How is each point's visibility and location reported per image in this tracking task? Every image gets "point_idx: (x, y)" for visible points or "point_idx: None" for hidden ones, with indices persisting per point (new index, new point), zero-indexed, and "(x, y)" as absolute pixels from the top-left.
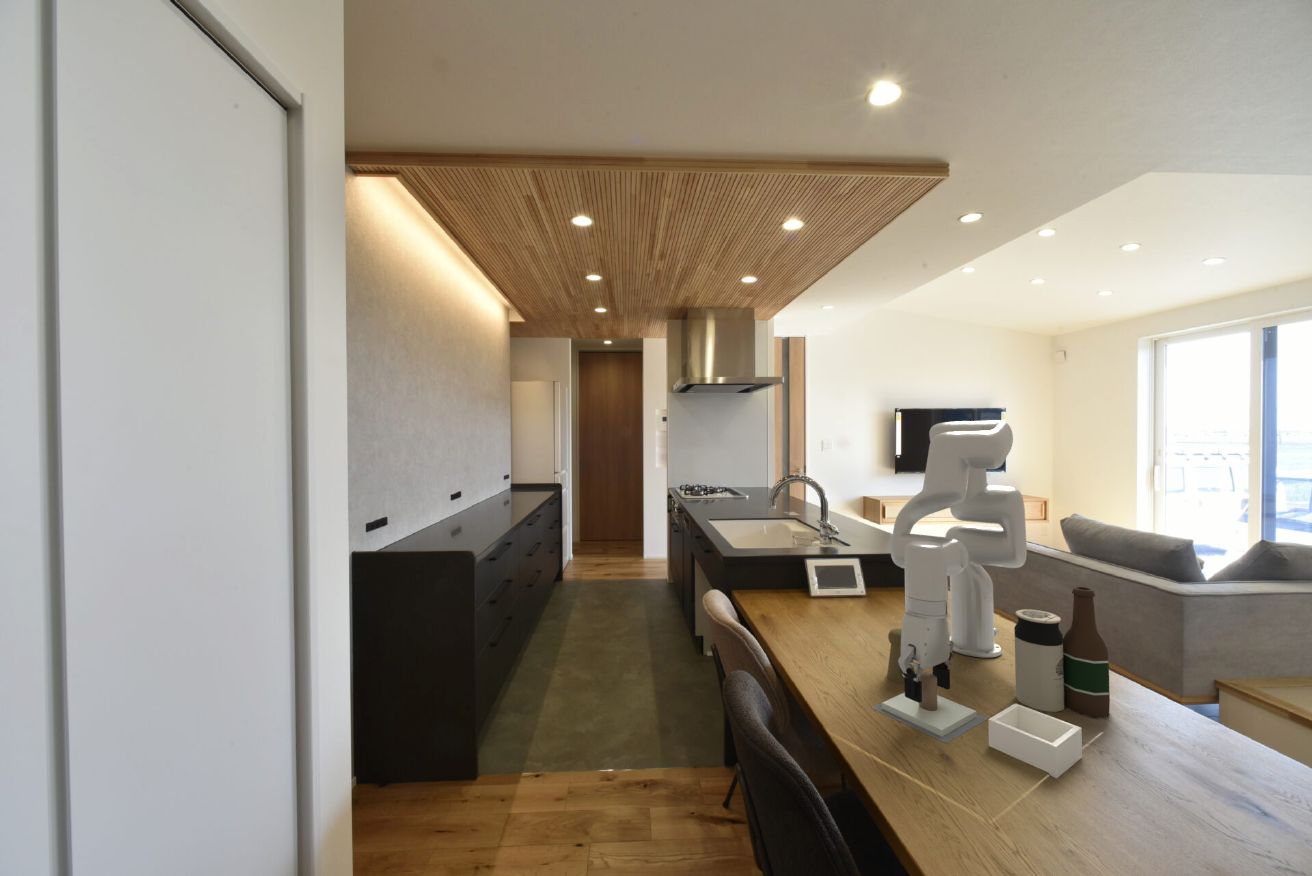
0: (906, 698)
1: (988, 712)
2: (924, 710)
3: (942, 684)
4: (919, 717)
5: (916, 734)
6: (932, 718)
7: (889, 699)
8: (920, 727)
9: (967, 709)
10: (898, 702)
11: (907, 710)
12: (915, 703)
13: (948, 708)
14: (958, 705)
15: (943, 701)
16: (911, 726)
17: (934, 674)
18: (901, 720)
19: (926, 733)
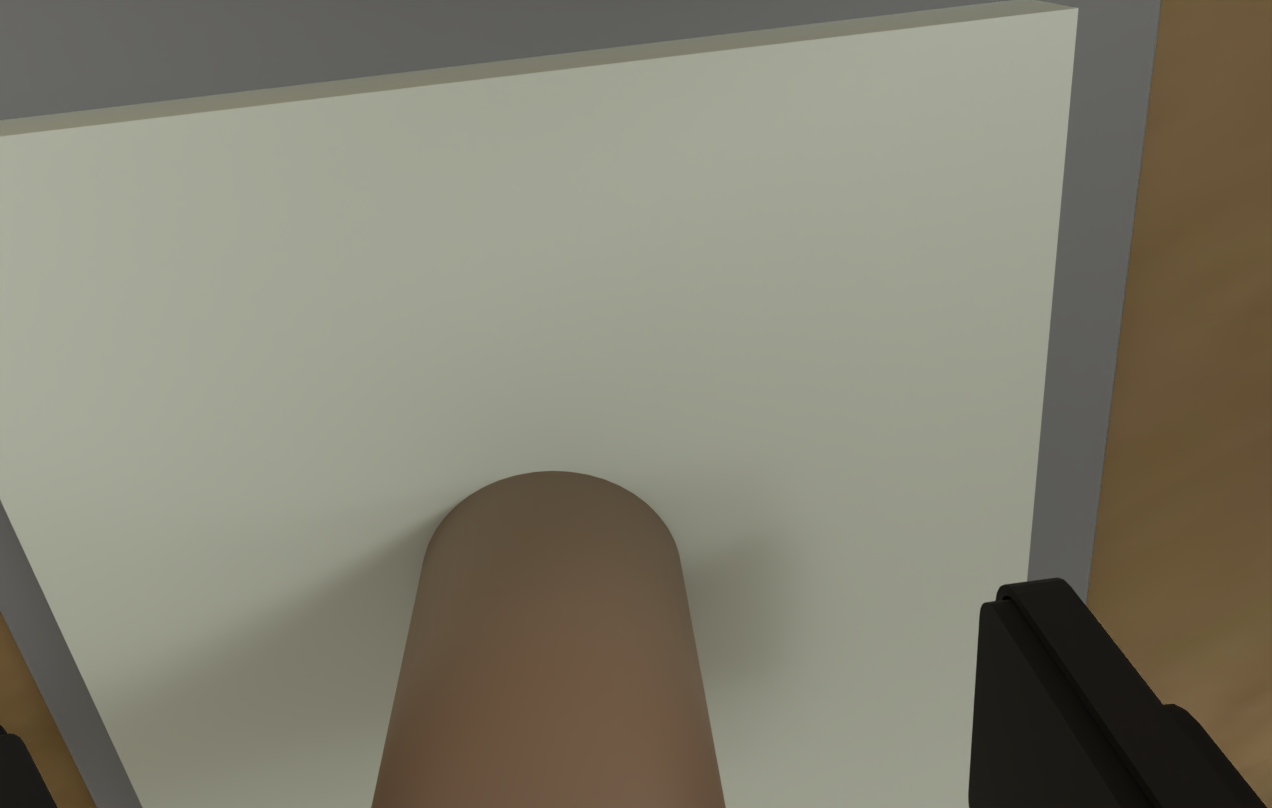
0: (452, 256)
1: (1241, 732)
2: (397, 629)
3: (992, 798)
4: (163, 716)
5: (18, 726)
6: (322, 784)
7: (90, 130)
8: None
9: (955, 800)
10: (180, 297)
11: (134, 534)
12: (448, 445)
13: (765, 713)
14: (966, 712)
15: (912, 570)
16: (31, 656)
17: (1081, 792)
18: (1, 510)
19: (105, 803)
